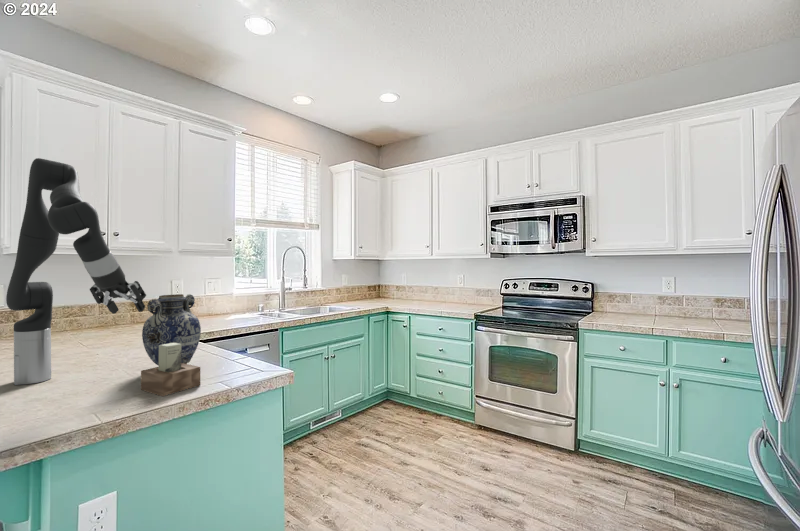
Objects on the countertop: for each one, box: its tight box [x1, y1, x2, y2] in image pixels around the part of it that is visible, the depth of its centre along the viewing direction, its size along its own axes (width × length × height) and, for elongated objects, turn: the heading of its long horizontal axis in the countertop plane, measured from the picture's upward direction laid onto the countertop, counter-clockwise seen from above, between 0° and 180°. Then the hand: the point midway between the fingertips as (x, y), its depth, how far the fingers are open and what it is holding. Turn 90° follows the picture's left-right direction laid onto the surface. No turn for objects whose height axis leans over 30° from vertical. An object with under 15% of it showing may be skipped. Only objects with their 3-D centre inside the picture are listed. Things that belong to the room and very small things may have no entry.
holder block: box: [140, 363, 201, 397], centre depth 126 cm, size 12×12×6 cm
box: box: [158, 343, 181, 373], centre depth 126 cm, size 5×4×13 cm
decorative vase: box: [141, 293, 202, 367], centre depth 145 cm, size 21×19×28 cm
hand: (129, 311), depth 125 cm, fingers open, 8 cm apart
